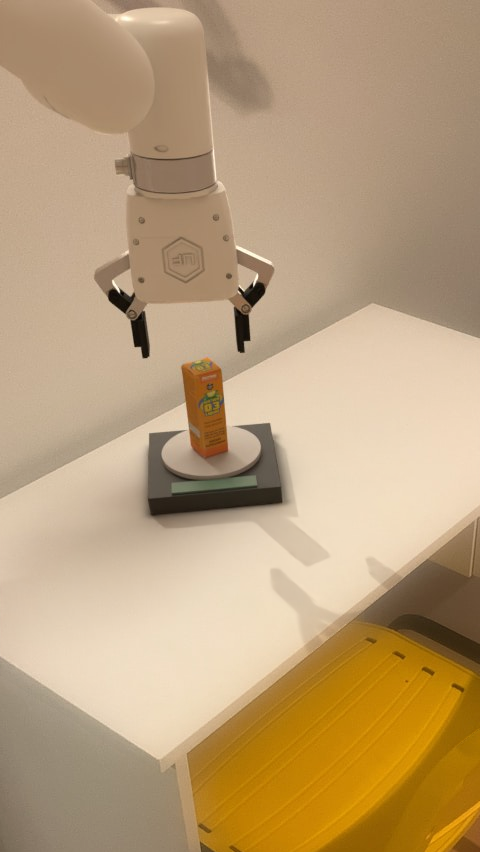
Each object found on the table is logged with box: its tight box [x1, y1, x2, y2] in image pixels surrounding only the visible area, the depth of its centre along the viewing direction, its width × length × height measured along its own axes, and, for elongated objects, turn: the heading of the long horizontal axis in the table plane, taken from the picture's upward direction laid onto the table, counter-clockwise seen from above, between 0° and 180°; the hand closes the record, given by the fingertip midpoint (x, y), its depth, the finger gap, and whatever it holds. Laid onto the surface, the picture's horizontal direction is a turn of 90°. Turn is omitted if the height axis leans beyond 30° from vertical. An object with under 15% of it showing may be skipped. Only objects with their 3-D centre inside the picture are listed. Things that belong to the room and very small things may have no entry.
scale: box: [147, 422, 283, 516], centre depth 107 cm, size 14×14×3 cm
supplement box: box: [180, 357, 228, 458], centre depth 103 cm, size 3×3×10 cm
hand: (193, 350), depth 99 cm, fingers open, 9 cm apart
